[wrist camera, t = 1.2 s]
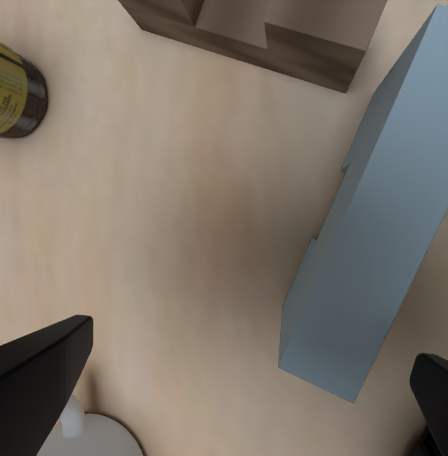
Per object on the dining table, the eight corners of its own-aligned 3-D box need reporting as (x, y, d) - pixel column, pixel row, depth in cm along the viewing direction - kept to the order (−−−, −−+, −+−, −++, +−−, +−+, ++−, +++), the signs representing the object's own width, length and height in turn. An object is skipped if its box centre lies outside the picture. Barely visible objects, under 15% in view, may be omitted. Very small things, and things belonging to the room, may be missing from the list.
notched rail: (366, 42, 18) (395, -19, 13) (345, 93, 19) (365, 51, 14) (156, -17, 21) (115, -88, 16) (141, 29, 21) (97, -26, 16)
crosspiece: (374, 92, 18) (437, 3, 10) (426, 108, 18) (534, 28, 10) (282, 306, 20) (278, 367, 12) (327, 326, 20) (353, 403, 12)
